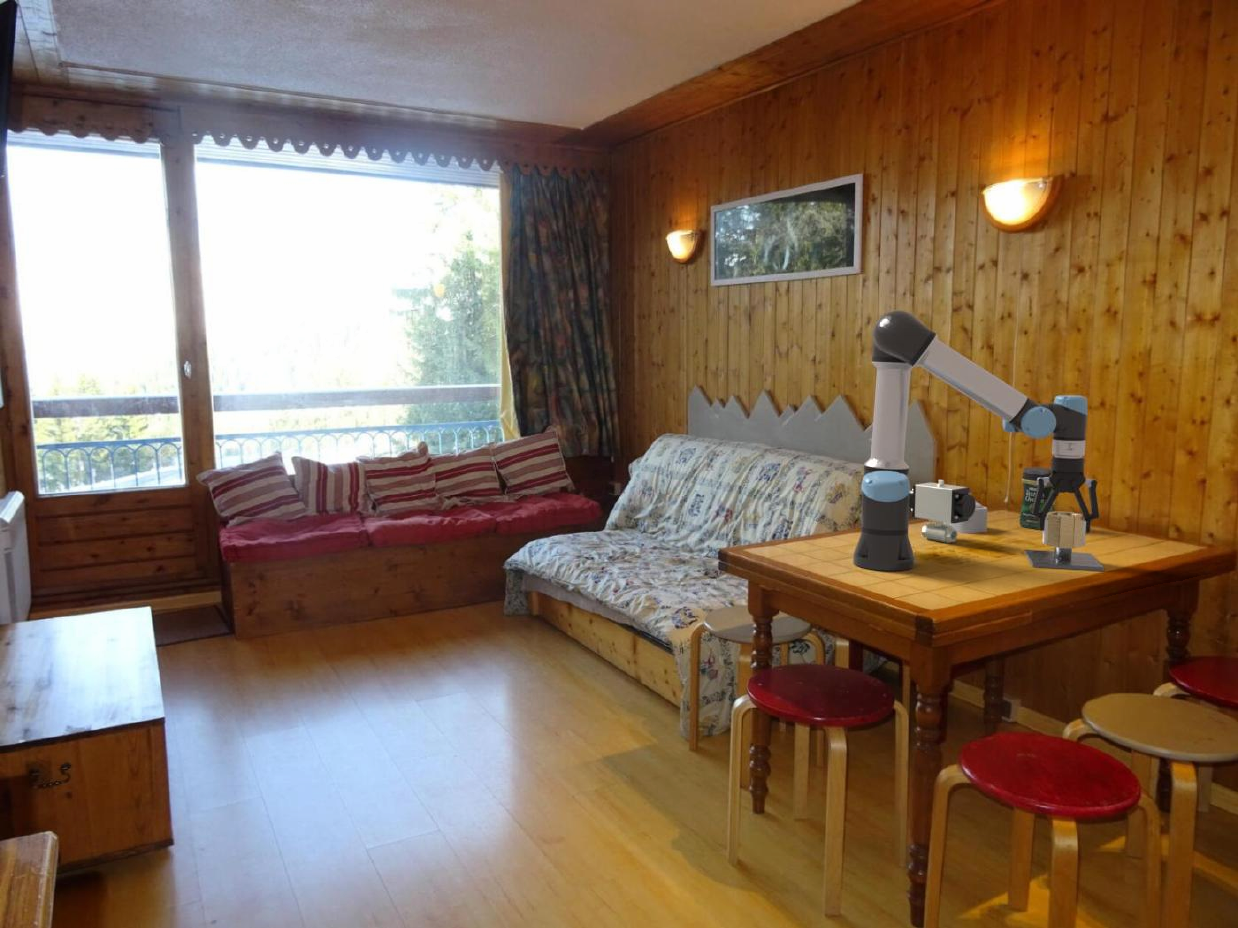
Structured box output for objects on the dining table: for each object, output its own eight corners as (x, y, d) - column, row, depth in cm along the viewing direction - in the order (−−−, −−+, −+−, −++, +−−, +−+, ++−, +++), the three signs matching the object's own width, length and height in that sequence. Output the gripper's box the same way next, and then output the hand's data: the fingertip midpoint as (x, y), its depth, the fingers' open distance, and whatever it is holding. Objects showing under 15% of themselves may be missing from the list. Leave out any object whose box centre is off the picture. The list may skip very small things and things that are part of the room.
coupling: (1048, 547, 226) (1050, 516, 225) (1043, 540, 233) (1045, 510, 232) (1083, 549, 223) (1085, 517, 222) (1077, 542, 231) (1079, 512, 230)
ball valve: (977, 543, 251) (980, 481, 249) (960, 548, 246) (962, 484, 244) (922, 533, 265) (924, 475, 263) (904, 537, 260) (906, 477, 258)
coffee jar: (1015, 526, 275) (1018, 467, 272) (1027, 523, 280) (1030, 465, 277) (1047, 531, 267) (1050, 470, 265) (1058, 527, 272) (1061, 468, 270)
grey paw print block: (965, 534, 265) (966, 505, 263) (933, 526, 276) (934, 499, 275) (991, 531, 269) (992, 503, 268) (959, 523, 280) (960, 496, 279)
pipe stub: (1032, 566, 224) (1035, 520, 222) (1024, 553, 239) (1026, 509, 237) (1103, 571, 219) (1106, 523, 217) (1090, 556, 234) (1093, 512, 233)
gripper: (1025, 456, 225) (1021, 544, 228) (1117, 459, 219) (1111, 549, 222) (1021, 453, 232) (1017, 538, 235) (1110, 455, 226) (1105, 543, 229)
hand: (1063, 543), depth 228 cm, fingers closed on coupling, 8 cm apart
